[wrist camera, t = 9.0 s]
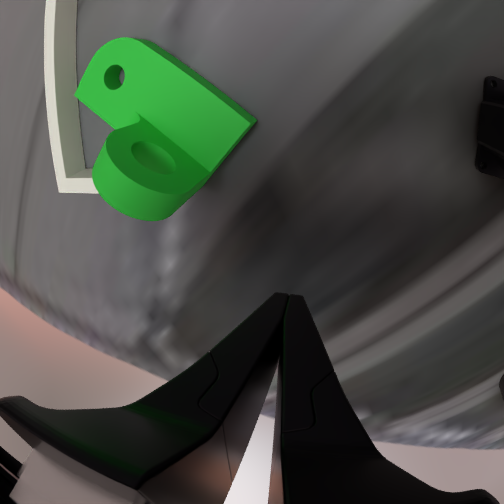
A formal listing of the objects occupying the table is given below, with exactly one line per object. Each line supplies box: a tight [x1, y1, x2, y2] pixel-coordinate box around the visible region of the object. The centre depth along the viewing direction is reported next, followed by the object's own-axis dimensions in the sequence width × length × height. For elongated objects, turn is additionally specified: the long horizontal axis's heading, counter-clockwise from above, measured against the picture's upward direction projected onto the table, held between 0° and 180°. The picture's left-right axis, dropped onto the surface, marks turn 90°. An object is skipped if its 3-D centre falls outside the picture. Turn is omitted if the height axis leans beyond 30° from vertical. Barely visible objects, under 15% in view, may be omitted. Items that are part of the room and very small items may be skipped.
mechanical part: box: [74, 38, 257, 221], centre depth 16 cm, size 12×6×8 cm, turn 51°
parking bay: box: [44, 0, 98, 193], centre depth 17 cm, size 10×19×2 cm, turn 0°
